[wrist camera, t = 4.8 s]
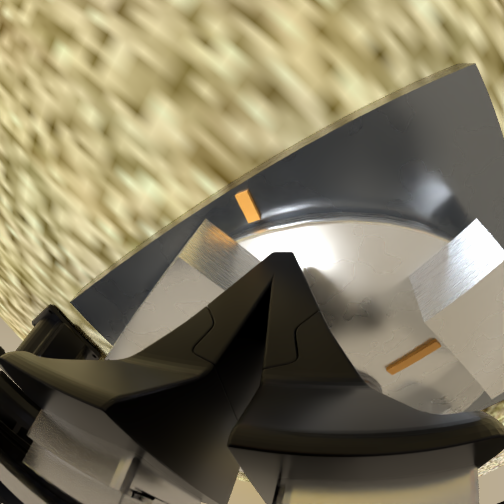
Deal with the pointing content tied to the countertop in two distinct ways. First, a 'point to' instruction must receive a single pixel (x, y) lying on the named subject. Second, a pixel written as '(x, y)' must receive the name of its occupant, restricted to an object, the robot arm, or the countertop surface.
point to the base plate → (344, 185)
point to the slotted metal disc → (362, 298)
